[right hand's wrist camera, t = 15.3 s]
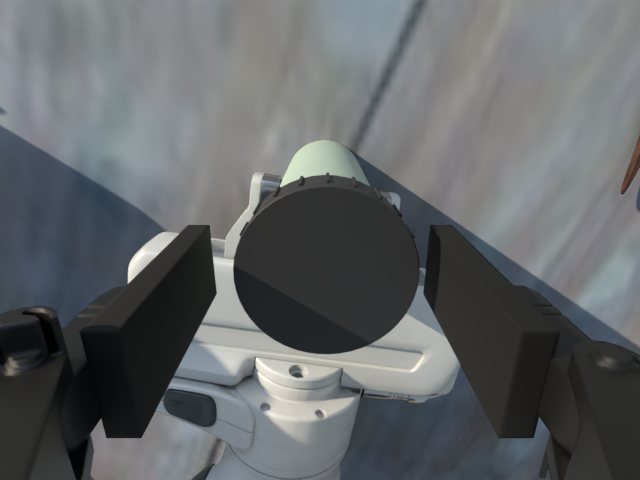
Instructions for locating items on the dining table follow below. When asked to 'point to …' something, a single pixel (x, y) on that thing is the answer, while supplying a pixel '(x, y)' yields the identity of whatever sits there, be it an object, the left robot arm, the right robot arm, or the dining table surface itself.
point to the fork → (632, 168)
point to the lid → (326, 265)
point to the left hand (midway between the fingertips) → (326, 184)
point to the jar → (324, 162)
